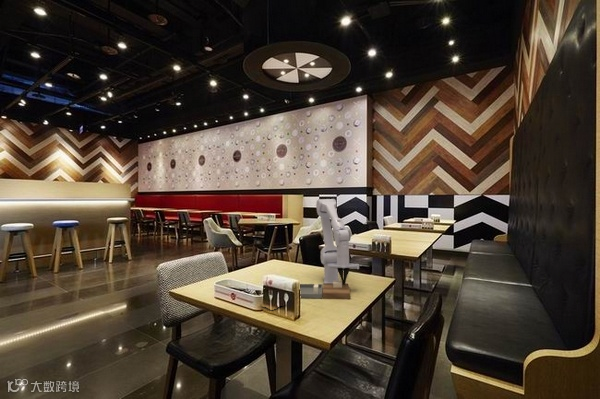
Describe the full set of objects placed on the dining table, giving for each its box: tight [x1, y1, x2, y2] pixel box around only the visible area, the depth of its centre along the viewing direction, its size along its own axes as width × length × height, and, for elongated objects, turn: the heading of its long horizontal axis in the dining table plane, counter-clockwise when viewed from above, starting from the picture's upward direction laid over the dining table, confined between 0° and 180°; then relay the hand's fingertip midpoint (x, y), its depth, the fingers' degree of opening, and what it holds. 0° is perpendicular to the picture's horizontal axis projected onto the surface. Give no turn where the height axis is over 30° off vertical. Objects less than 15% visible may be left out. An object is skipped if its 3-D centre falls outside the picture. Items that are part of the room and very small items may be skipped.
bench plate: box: [322, 282, 351, 300], centre depth 122 cm, size 14×12×2 cm
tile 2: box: [333, 280, 342, 288], centre depth 125 cm, size 4×4×2 cm
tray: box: [299, 283, 323, 300], centre depth 123 cm, size 14×12×2 cm
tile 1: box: [313, 283, 319, 294], centre depth 120 cm, size 4×4×2 cm
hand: (343, 284), depth 125 cm, fingers closed
